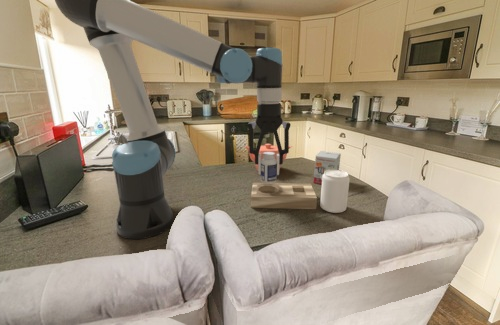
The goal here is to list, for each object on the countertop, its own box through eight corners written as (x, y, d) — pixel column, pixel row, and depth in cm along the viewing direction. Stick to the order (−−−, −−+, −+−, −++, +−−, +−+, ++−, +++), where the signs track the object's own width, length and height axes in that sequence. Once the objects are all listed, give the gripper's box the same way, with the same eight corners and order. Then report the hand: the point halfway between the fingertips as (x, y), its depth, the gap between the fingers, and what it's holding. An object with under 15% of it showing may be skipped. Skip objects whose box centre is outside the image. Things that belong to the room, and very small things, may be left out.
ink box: (312, 183, 103) (314, 155, 100) (317, 176, 111) (319, 150, 107) (334, 186, 99) (337, 157, 96) (338, 179, 107) (341, 152, 103)
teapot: (291, 170, 118) (292, 144, 114) (265, 179, 108) (265, 150, 105) (269, 163, 129) (270, 139, 126) (243, 170, 119) (243, 144, 116)
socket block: (316, 209, 82) (317, 197, 80) (250, 207, 83) (250, 196, 82) (310, 193, 93) (310, 183, 92) (252, 192, 94) (252, 182, 93)
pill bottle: (278, 179, 88) (279, 151, 85) (274, 184, 83) (274, 156, 80) (263, 177, 90) (263, 150, 87) (258, 182, 85) (258, 154, 82)
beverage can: (326, 200, 88) (328, 167, 84) (349, 207, 83) (353, 172, 79) (315, 209, 82) (318, 174, 78) (340, 217, 77) (344, 179, 73)
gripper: (297, 101, 82) (295, 169, 88) (240, 102, 83) (242, 169, 90) (300, 103, 74) (297, 177, 81) (238, 103, 76) (240, 177, 83)
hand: (268, 173), depth 85 cm, fingers closed on pill bottle, 5 cm apart
